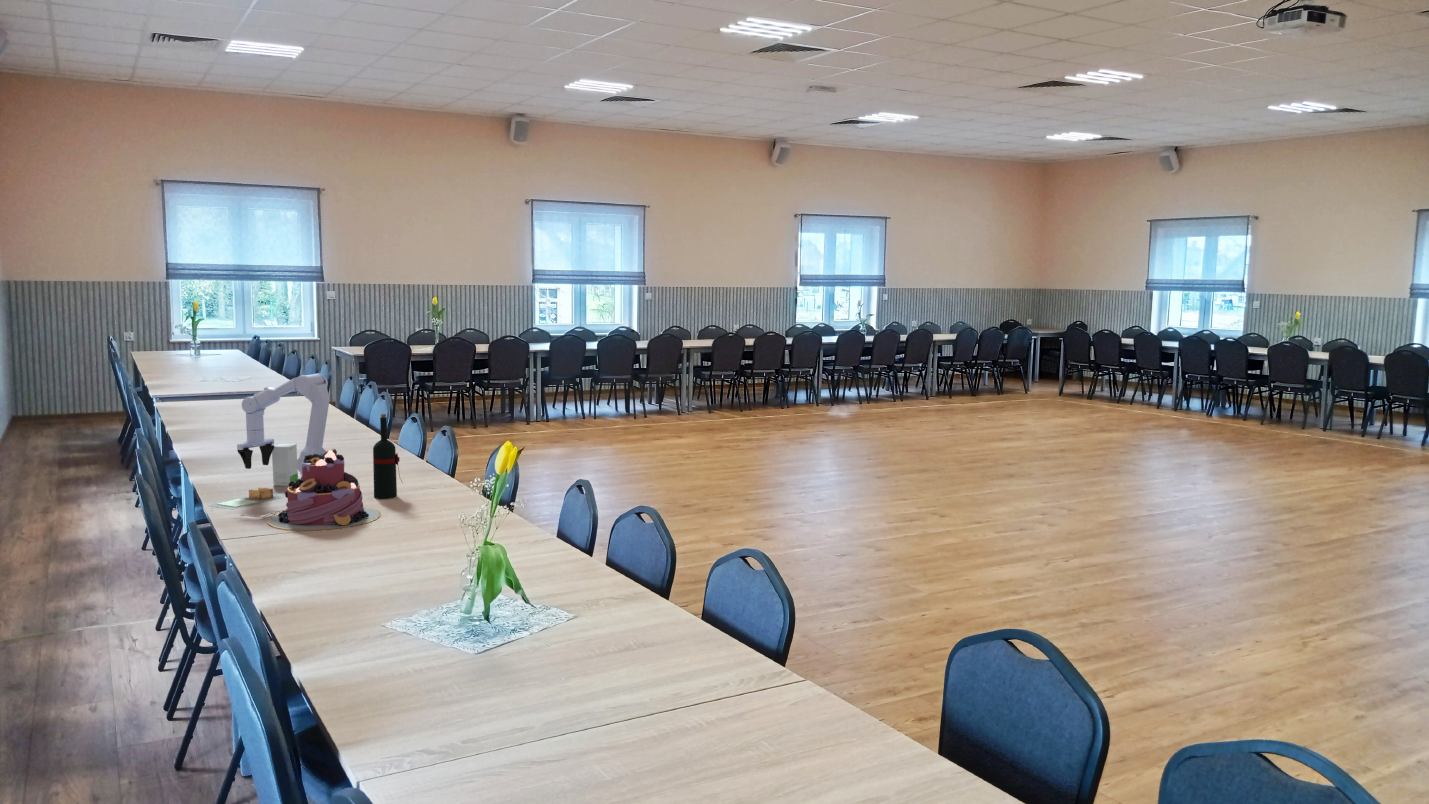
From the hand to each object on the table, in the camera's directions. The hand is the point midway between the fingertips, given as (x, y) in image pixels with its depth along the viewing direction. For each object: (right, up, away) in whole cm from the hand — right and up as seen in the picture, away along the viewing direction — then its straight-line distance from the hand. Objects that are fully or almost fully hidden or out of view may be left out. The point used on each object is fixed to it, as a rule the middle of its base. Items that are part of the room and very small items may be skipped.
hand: (257, 466), depth 370 cm
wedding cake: (+37, -15, -33) cm, 52 cm away
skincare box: (+4, -8, +14) cm, 17 cm away
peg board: (+4, -12, -15) cm, 19 cm away
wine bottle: (+48, -11, -1) cm, 49 cm away
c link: (+6, -10, -11) cm, 16 cm away
